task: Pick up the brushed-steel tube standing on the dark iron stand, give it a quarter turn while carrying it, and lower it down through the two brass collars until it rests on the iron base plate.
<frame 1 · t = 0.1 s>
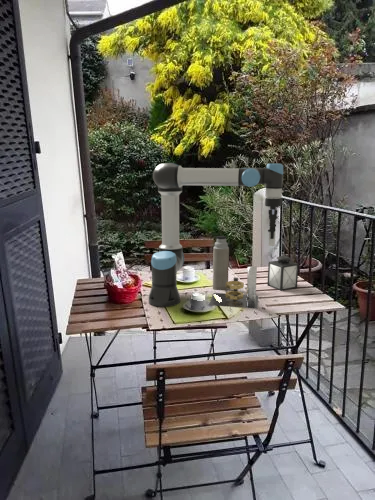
hand: (271, 242, 194), 28 cm above the table, tool pointing down, fingers open, 13 cm apart
lantern: (282, 287, 220), on the table
collar stand: (234, 303, 194), on the table
thermos bottle: (220, 289, 216), on the table
tube: (250, 305, 187), point 1 cm above the table, touching collar stand
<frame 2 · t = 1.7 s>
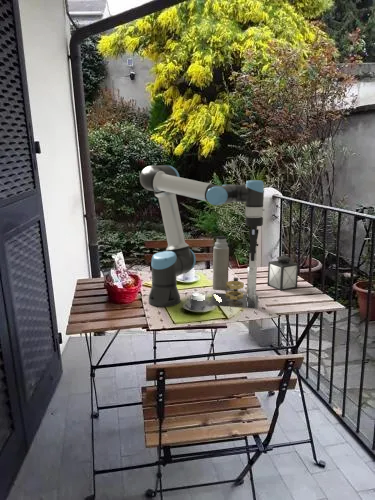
hand: (253, 264, 183), 21 cm above the table, tool pointing down, fingers open, 13 cm apart
nothing on the table moved.
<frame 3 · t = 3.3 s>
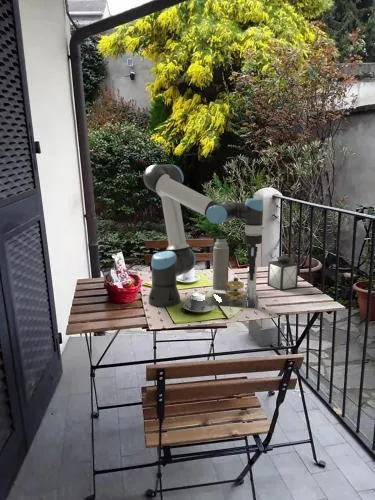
hand: (251, 285, 185), 11 cm above the table, tool pointing down, fingers closed on tube, 4 cm apart
tube: (250, 305, 187), point 2 cm above the table, touching collar stand, gripper
everything else where it was.
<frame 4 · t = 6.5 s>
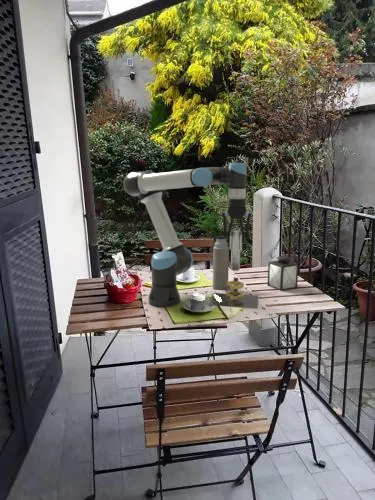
hand: (235, 249, 189), 26 cm above the table, tool pointing down, fingers closed on tube, 4 cm apart
tube: (235, 269, 191), point 16 cm above the table, touching gripper
everything else where it was.
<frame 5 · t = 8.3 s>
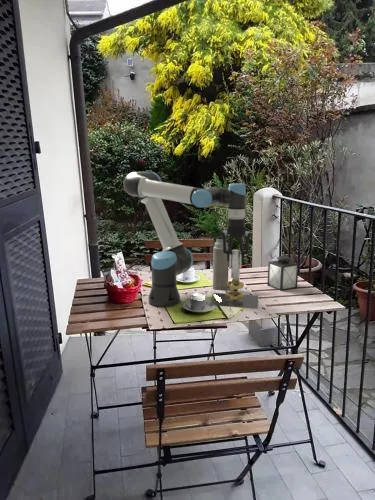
hand: (235, 268, 191), 17 cm above the table, tool pointing down, fingers closed on tube, 4 cm apart
tube: (234, 288, 193), point 7 cm above the table, touching gripper
everything else where it was.
when the fingers open (13 cm above the table, at t = 9.6 s): tube drops 2 cm, resting on collar stand.
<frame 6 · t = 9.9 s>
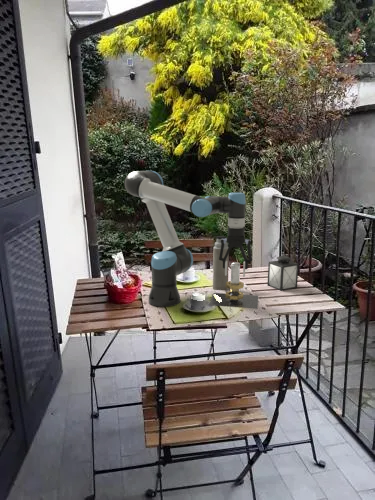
hand: (234, 275, 191), 14 cm above the table, tool pointing down, fingers open, 8 cm apart
tube: (234, 300, 194), point 2 cm above the table, touching collar stand
everything else where it was.
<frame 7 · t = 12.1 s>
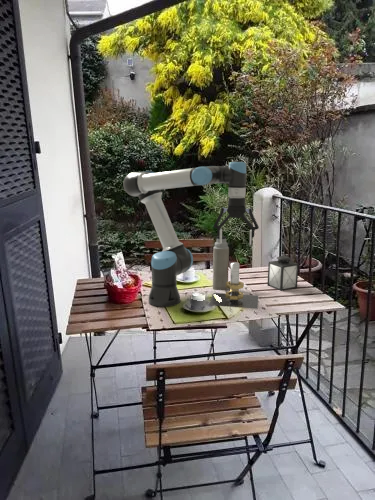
hand: (235, 243, 188), 29 cm above the table, tool pointing down, fingers open, 13 cm apart
nothing on the table moved.
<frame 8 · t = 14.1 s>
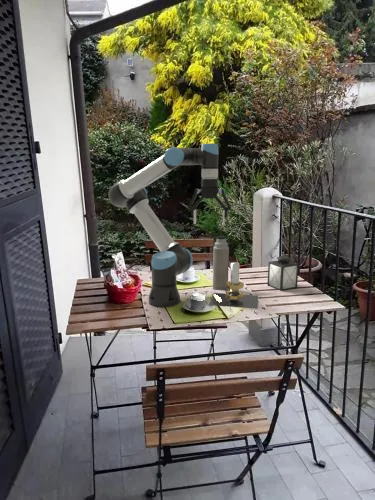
hand: (209, 224, 193), 37 cm above the table, tool pointing down, fingers open, 13 cm apart
nothing on the table moved.
at the end: tube 0.1 cm off-centre on the collar stand, point 1.5 cm above the collar stand's base; tube tilted 0°; the gripper is holding nothing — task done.
